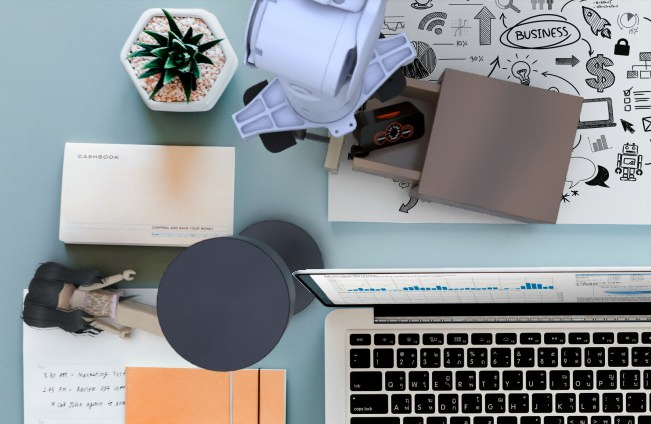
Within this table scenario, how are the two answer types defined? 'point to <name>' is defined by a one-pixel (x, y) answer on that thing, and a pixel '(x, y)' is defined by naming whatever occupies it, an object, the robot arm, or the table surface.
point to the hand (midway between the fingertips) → (327, 106)
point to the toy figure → (84, 302)
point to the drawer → (391, 160)
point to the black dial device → (386, 128)
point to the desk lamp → (235, 294)
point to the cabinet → (499, 148)
